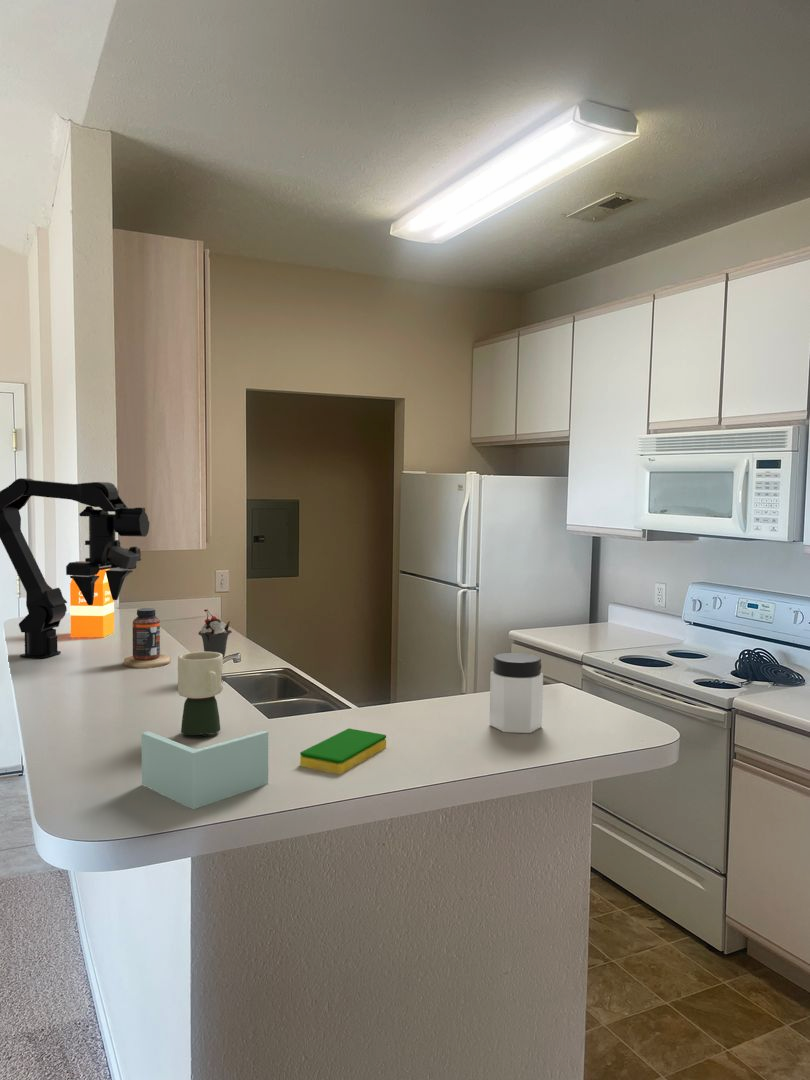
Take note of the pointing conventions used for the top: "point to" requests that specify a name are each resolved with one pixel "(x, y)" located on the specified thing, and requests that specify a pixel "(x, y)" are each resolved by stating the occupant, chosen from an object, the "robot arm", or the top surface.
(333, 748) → the dish sponge
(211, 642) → the sundae
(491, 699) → the jar
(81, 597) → the orange juice
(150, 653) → the supplement bottle
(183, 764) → the l-shaped corner panel
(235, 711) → the top surface
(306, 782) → the top surface
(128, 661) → the plate
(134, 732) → the top surface
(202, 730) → the character mug
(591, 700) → the top surface
